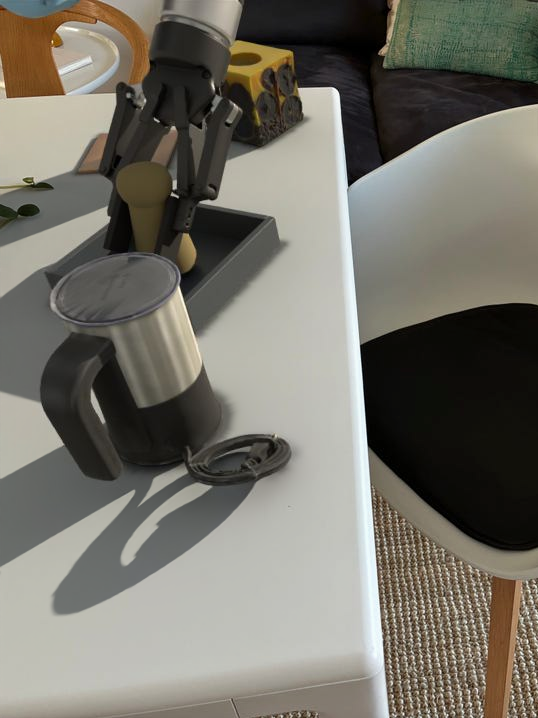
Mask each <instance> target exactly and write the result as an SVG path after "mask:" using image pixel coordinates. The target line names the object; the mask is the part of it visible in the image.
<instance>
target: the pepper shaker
mask: <svg viewBox="0 0 538 718" xmlns="http://www.w3.org/2000/svg"><path fill="white" fill-rule="evenodd" d="M172 177H173V176H172V175H171V173H170V171H169V170H168V169H167V167H166V168H165V167H164V166H163V165H161V164H159V163H156V162H151V161H142V162H136V163H132V164H130V165H127V166H126V167H124V168H123V169H121V170H120V171H119V173H118V175H117V178H116V188H117V190H118V193H119V194H120V196H121V198H122V199H123V200H124V201H125V202H126V203H128V206H129V211H130V217H131V222H132V228H133V234H134V239H135V245H136V251H137V253H152V254H153V253H154V249H155V245H156V241H157V237H158V233H159V229H160V225H161V221H162V217H163V213H164V209H165V205H166V201H167V197H168V195H170V196H172V194H173V192H172V189H173V190H174V182H173V178H172ZM197 261H198V254H197V252H196V249H195V247H194V245H193V243H192V241H191V238H190V236H189V234H185V233H183V236H182V240H181V244H180V248H179V252H178V256H177V260H176V264H175V265H176V266H177V268H178V270H179V272H180V275H181V274H183V273H185V272H187V271H189V270H190V269H192V268H193V267H194V266H195V265H196V263H197Z"/></svg>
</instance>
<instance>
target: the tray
mask: <svg viewBox="0 0 538 718" xmlns="http://www.w3.org/2000/svg"><path fill="white" fill-rule="evenodd" d="M108 226H109V222H108V223H106V224H105V225H104V226H103V227H101V228H99V229H98V230H96V232H95V233H93V234H92V235H90V236H89V237H87V238H86V240H84V241H83V242H81V243H80V244H79V245H77V246H76V247H74V248H73V249H72V250H70V251H69V252H68V253H67V254H66V255H64V256H63V257H62V258H60V259H59V260H58V261H56V262H54V264H52V265H51V266H50V267H48V268H47V269H45V270H44V271H43V274H44V276H45V278H46V280H47V282H48V284H49V287H50V289H51V291H52V290H53V288H54V287H55V285H56V284H57V283H58V282H59V281H60V280H61V279H62V278H63V277H64V276H65V275H67V274H69V273H70V272H71V271H73V270H74V269H76V268H77V267H79V266H82V265H84V264H86V263H88V262H91V261H93V260H95V259H99V258H103V257H106V256H110V255H116V254H119V253H116V252H113V251H110V250H107V249H104V248H103V245H104V241H105V238H106V234H107V230H108ZM188 234H189V236H190V238H191V241H192V243H193V245H194V247H195V249H196V252H197V254H198V261H197V263H196V265H195V266H194V267H193V268H192V269H190V270H189V271H187V272H185V273H183V274H181V275H180V278H181V279H180V283H179V287H180V290H181V293H182V296H183V300H184V303H185V306H186V309H187V313H188V316H189V319H190V322H191V325H192V329H193V332H194V335H197V334H198V332H200V330H202V328H203V327H204V326H206V325H207V323H208V322H210V320H212V318H213V317H214V316H215V315H216V314H217V313H218V312H219V311H220V310H221V309H222V308H223V307H224V306H225V305H226V303H228V302H229V301H230V299H231V298H232V297H233V296H234V295H236V293H237V292H239V290H240V289H241V288H242V287H243V286H244V285H245V284H246V283H247V282H248V281H249V280H250V279H251V278H252V277H253V276H254V275H255V274H256V273H257V272H258V271H259V269H261V267H262V266H263V265H264V264H265V263H266V262H267V261H268V260H269V259H270V258H271V257H272V256H274V254H275V253H276V252H277V251H278V250H279V249H280V248H281V247H282V245H281V241H280V235H279V231H278V226H277V221H276V217H275V216H272V215H267V214H262V213H256V212H249V211H244V210H239V209H234V208H229V207H224V206H218V205H212V204H206V203H203V202H202V203H201V202H199V203H198V204H197V206H196V210H195V214H194V218H193V221H192V225H191V229H190V231H189V233H188ZM134 252H137V251H136V245H135V239H134V234H132V238H131V242H130V246H129V249H128V253H134Z"/></svg>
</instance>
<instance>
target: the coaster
mask: <svg viewBox="0 0 538 718" xmlns="http://www.w3.org/2000/svg"><path fill="white" fill-rule="evenodd" d="M177 135H178V133H177V130H176V129H171V130H170V132H169V133H168V134H167V135H164V136H163V138H162V140H161V142H160V144H159V146H158V148H157V150H156V152H155V154H154V156H153V157H152V159H151V162H156V163H159V164H161V165H163V166H164V167H165V168H166V169H167V167H168V164H169V162H170V160H171V157H172V155H173V152H174V150H175V147H176V145H177ZM97 136H98V137H97V138H96V139H95V141H94V143H93V145H92V146H91V148H90V150H89V151H88V153H87V155H86V157H85V159H84V160H83V162H82V164H81V165H80V167H79V168H78V170H77V172H78V174H94V173H95V174H97V173H99V171H98V170H99V165H100V162H101V158H102V155H103V151H104V147H105V144H106V140H107V136H108V133H99V134H98V135H97Z"/></svg>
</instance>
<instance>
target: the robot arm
mask: <svg viewBox="0 0 538 718" xmlns="http://www.w3.org/2000/svg"><path fill="white" fill-rule="evenodd" d="M81 1H82V0H0V6H2V7H3V8H4V9H6V10H7V11H9V12H11V13H13V14H15V15H17V16H20V17H23V18H30V19H39V18H44V17H48V16H51V15H53V14H57V13H59V12H62V11H67V10H69V9H71V8H74V7H76V6H77V4H79V2H81ZM244 5H245V0H161V1H160V5H159V7H158V11H157V19H158V21H159V22H158V23H156V24H155V26H154V29H153V33H152V36H151V37H152V38H151V41H150V43H149V49H148V53H147V56H148V63H149V69H148V71H147V72H146V74H145V75H144V77H143V78H142V80H141V82H140V83H139V82H138V83H134V84H128V83H126V82H124V81H119V82H118V83H117V84H116V85H115V99H116V100H115V106H114V111H113V114H112V118H111V122H110V125H109V129H108V132H107V134H108V136H107V140H106V144H105V147H104V151H103V155H102V158H101V162H100V165H99V170H98V171H99V172H98V174H99V175H101V177H104V178H106V179H107V180H109V182H111V184H112V190H111V194H110V197H109V201H108V206H107V210H106V215H107V217H110V219H109V222H108V223H109V226H108V230H107V234H106V238H105V241H104V245H103V248H104V249H107V250H110V251H113V252H116V253H119V254H123V253H128V249H129V246H130V242H131V238H132V234H133V228H132V222H131V217H130V211H129V206H128V203H126V202H125V201H124V200H123V199H122V198H121V196H120V194H119V193H118V190H117V188H116V178H117V175H118V173H119V171H120V170H121V169H123V168H124V167H126V166H127V165H130V164H132V163H136V162H142V161H151V159H152V157H153V156H154V154H155V152H156V150H157V148H158V146H159V144H160V142H161V140H162V138H163V136H164V135H167V134H168V133H169V132H170V130H172V128H173V127H174V128H175V130H177V133H178V135H177V143H176V145H177V149H176V188H173V189H172V194H174V195H171V196H170V195H168V197H167V201H166V205H165V209H164V213H163V217H162V221H161V225H160V229H159V233H158V237H157V241H156V245H155V249H154V253H153V254H156V255H158V256H161V257H164V258H166V259H168V260H170V261H171V262H172V263H174V264H176V260H177V256H178V252H179V248H180V244H181V240H182V236H183V233H185V234H188V233H189V231H190V229H191V225H192V221H193V218H194V214H195V210H196V206H197V204H198V203H201V202H204V201H211V202H214V201H216V200H217V199H218V197H219V194H220V191H221V190H220V189H221V186H222V181H223V177H224V173H225V168H226V164H227V160H228V155H229V152H230V147H231V142H232V139H231V138H232V134H233V130H234V128H235V127H236V125H237V123H238V122H239V120H240V118H241V116H242V114H243V111H242V109H241V108H239V107H238V106H237V105H235V104H234V103H233V102H232V101H230V100H229V99H228V98H222V97H221V92H220V86H221V85H222V84H223V83H224V82H225V78H226V74H227V70H228V66H229V62H230V58H231V52H230V50H229V48H230V47H232V46H233V45H234V42H235V41H236V38H237V32H238V30H239V29H238V28H239V25H240V20H241V16H242V12H243V7H244ZM211 112H212V116H211V118H210V121H209V125H208V129H207V128H206V123H205V118H206V117H207V116H208V115H209V114H210V113H211ZM203 139H204V142H203Z"/></svg>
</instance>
